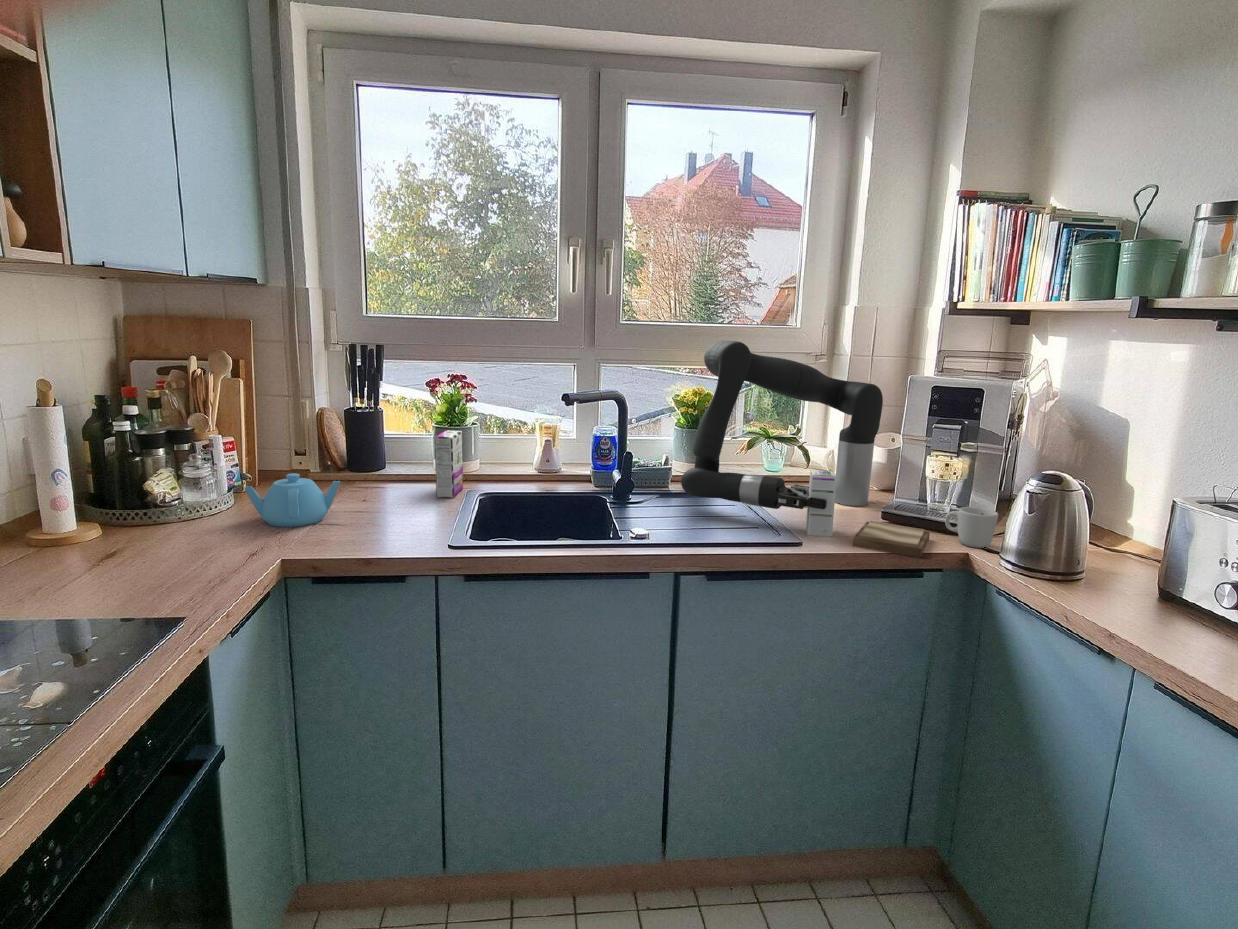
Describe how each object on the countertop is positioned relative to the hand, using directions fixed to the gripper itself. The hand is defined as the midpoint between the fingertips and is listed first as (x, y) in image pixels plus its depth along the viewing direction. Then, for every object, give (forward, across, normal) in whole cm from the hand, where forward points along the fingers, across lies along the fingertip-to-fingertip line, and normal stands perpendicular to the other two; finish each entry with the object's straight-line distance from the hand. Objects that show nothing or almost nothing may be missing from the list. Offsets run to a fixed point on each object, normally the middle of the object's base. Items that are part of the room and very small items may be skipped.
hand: (830, 501), depth 164 cm
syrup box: (-2, 0, +8) cm, 8 cm away
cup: (+29, +12, +8) cm, 32 cm away
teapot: (-106, -62, +8) cm, 123 cm away
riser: (+14, +2, +8) cm, 16 cm away
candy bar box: (-96, -22, +8) cm, 99 cm away
